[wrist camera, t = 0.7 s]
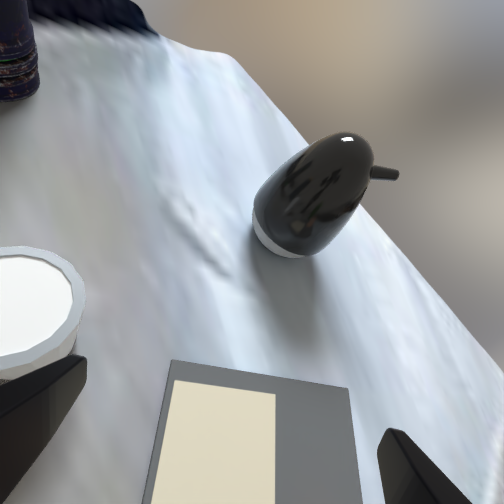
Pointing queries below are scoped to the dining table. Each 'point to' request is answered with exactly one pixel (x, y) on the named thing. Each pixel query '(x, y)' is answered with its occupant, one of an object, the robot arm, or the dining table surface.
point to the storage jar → (17, 52)
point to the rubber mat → (251, 440)
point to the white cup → (37, 309)
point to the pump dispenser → (315, 194)
